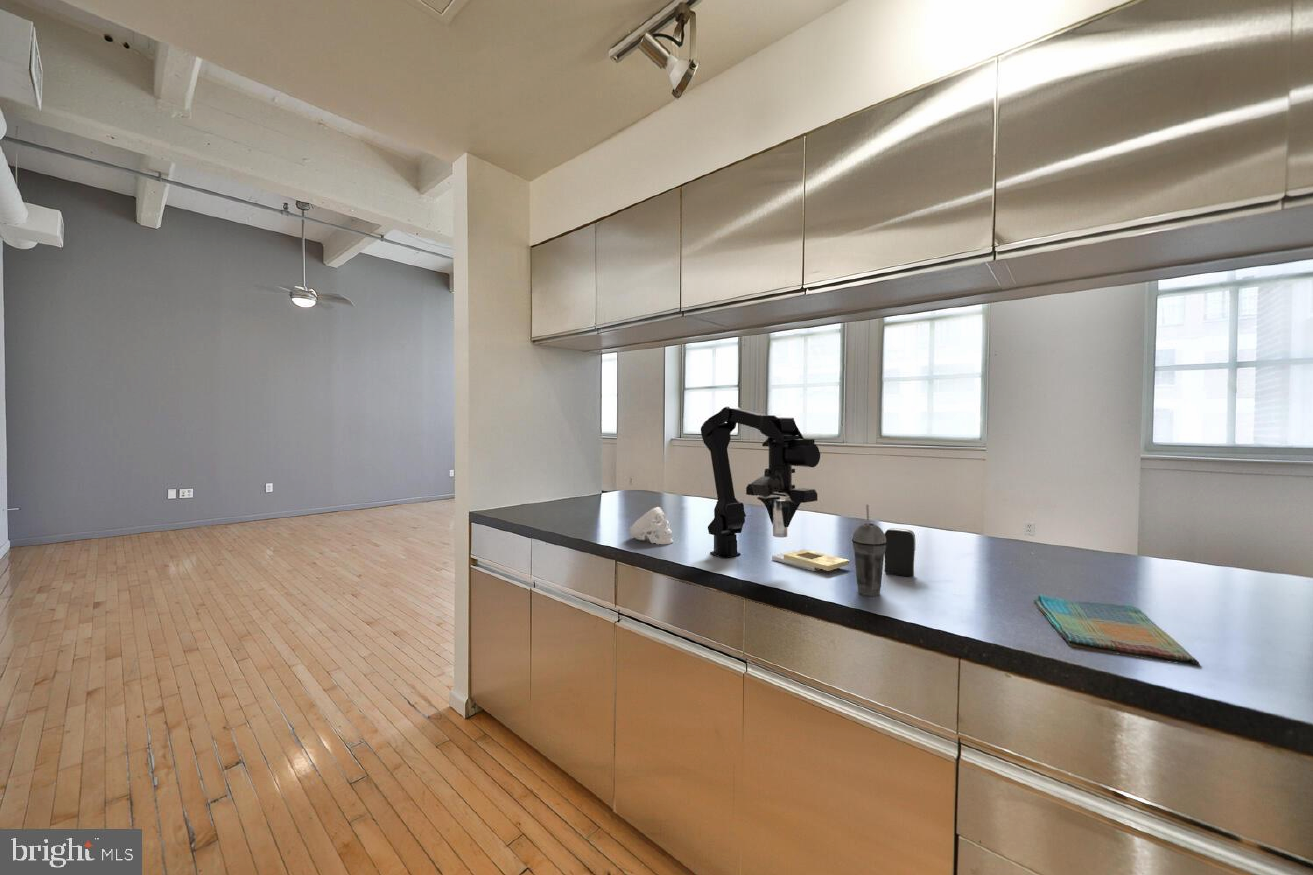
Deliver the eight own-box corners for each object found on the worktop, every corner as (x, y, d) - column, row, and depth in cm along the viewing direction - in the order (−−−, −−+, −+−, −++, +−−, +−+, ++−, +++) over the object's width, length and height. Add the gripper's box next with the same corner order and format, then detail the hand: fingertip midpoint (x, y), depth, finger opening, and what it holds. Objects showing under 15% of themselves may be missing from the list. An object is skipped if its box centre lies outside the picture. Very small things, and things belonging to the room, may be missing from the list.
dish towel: (1139, 617, 99) (1139, 605, 99) (1203, 671, 78) (1204, 654, 78) (1032, 604, 106) (1032, 592, 106) (1064, 649, 85) (1065, 634, 85)
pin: (769, 535, 128) (769, 500, 128) (779, 533, 130) (779, 499, 130) (781, 538, 125) (781, 502, 125) (790, 536, 127) (790, 500, 127)
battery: (916, 574, 126) (916, 529, 125) (914, 578, 122) (914, 531, 122) (886, 569, 130) (886, 526, 129) (883, 573, 126) (883, 528, 126)
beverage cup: (891, 592, 113) (892, 503, 112) (879, 600, 107) (880, 507, 107) (858, 585, 118) (859, 500, 117) (846, 593, 112) (846, 504, 112)
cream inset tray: (772, 559, 139) (772, 551, 139) (793, 554, 145) (793, 546, 145) (828, 575, 125) (828, 566, 125) (849, 569, 130) (849, 560, 130)
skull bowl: (667, 543, 154) (649, 508, 157) (636, 561, 161) (620, 527, 164) (685, 536, 162) (667, 503, 166) (655, 554, 169) (639, 521, 173)
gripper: (731, 464, 130) (731, 524, 130) (789, 469, 115) (789, 536, 115) (760, 462, 136) (760, 519, 137) (818, 466, 121) (818, 530, 122)
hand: (780, 525), depth 127 cm, fingers closed on pin, 4 cm apart
